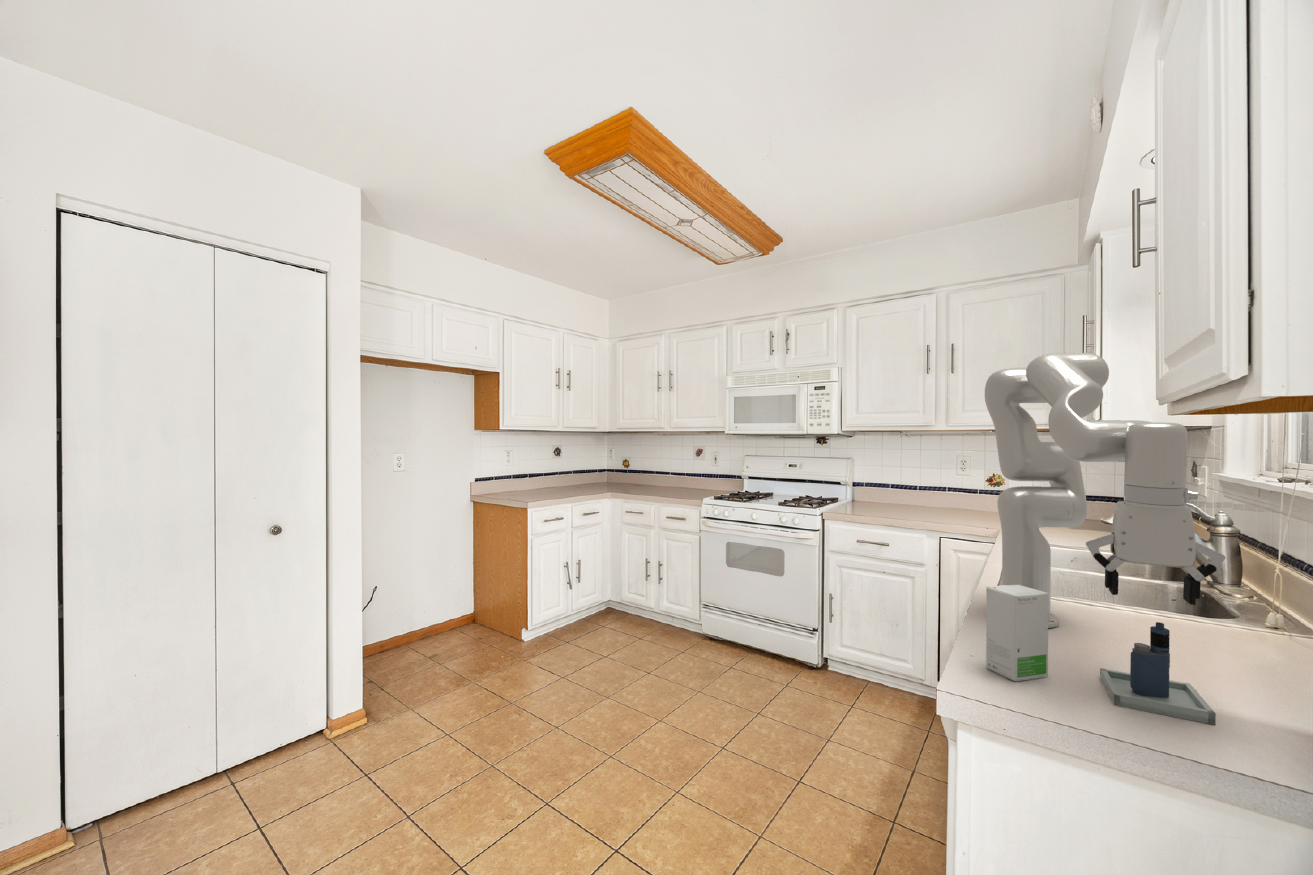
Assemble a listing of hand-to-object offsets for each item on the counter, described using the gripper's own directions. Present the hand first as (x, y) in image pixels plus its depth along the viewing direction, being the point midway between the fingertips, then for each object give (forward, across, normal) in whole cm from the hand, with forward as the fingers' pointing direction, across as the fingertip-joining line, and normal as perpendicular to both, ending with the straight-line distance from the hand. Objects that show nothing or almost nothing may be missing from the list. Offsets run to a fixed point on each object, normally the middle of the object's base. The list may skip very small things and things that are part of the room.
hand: (1150, 597), depth 90 cm
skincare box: (+18, +18, 0) cm, 25 cm away
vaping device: (+16, 0, +1) cm, 16 cm away
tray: (+17, 0, +1) cm, 17 cm away
